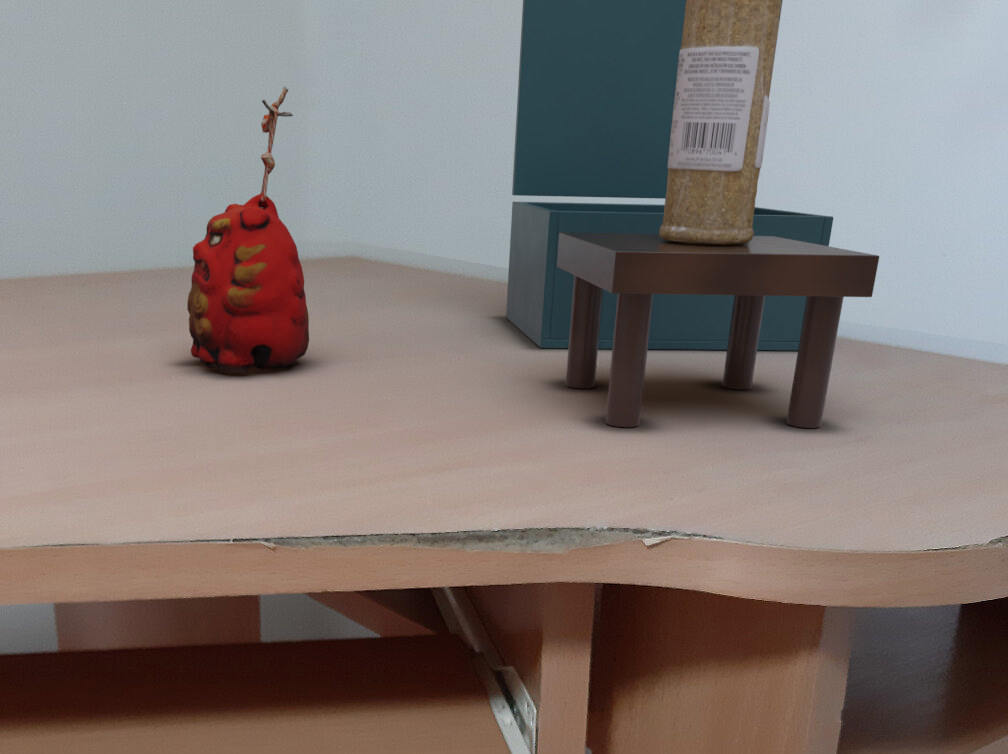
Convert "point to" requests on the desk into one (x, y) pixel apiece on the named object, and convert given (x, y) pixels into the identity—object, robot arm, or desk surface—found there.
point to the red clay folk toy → (249, 283)
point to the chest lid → (596, 97)
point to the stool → (707, 271)
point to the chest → (674, 318)
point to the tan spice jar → (719, 120)
